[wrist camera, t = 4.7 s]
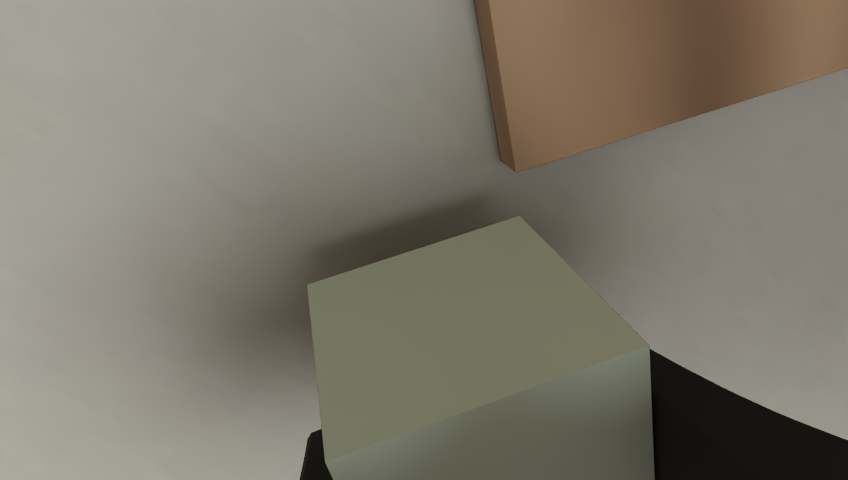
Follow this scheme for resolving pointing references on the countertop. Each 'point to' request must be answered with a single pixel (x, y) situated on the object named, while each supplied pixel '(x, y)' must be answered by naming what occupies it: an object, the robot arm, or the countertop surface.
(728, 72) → the walnut pad
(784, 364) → the countertop surface
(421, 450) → the sage cube
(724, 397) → the robot arm
